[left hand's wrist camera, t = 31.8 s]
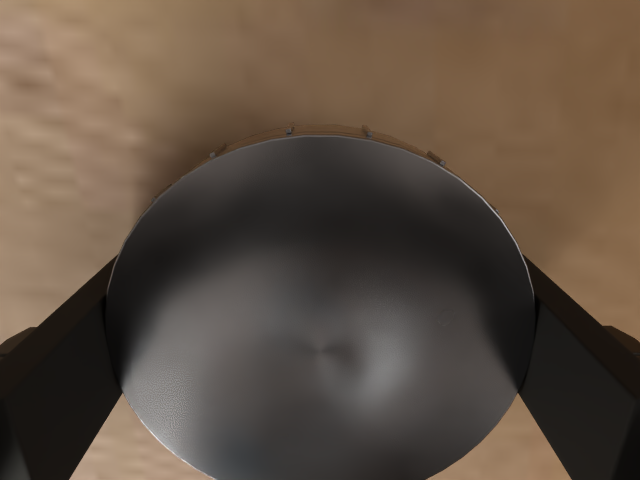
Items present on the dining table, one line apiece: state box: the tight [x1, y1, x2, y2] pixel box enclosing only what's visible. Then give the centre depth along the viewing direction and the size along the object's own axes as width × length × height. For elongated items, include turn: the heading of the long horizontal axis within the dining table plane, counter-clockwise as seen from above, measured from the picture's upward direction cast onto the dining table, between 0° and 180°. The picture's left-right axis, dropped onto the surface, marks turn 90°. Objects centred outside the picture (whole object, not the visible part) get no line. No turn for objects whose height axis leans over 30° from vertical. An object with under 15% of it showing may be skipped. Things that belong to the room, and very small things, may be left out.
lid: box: [105, 122, 536, 480], centre depth 11 cm, size 10×10×2 cm
